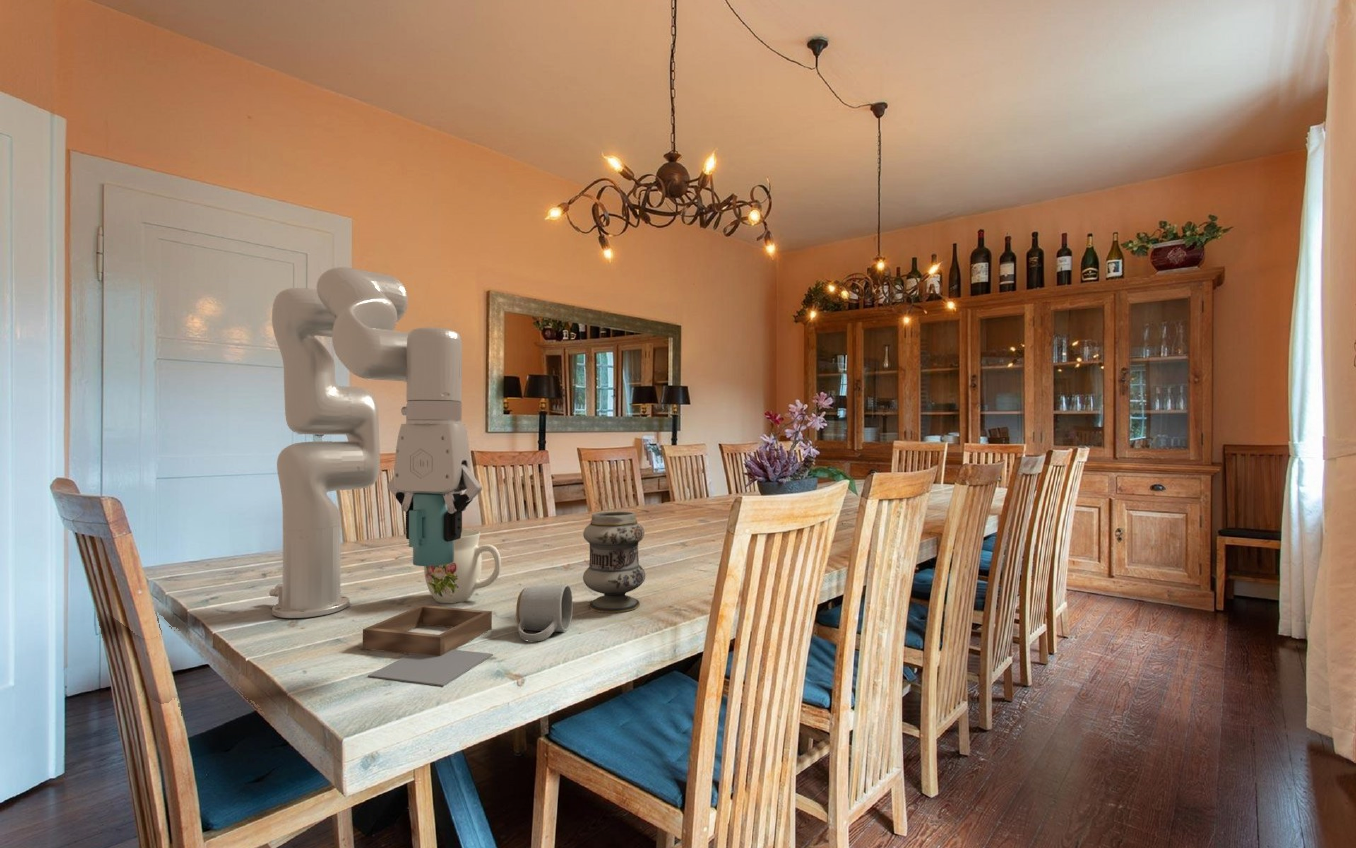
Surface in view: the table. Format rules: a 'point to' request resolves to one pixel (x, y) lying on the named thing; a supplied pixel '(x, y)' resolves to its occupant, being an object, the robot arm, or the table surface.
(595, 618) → the table surface
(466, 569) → the pitcher
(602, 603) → the apothecary jar
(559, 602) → the ceramic mug
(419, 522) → the teal jug
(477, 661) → the slate mat
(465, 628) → the wooden tray
